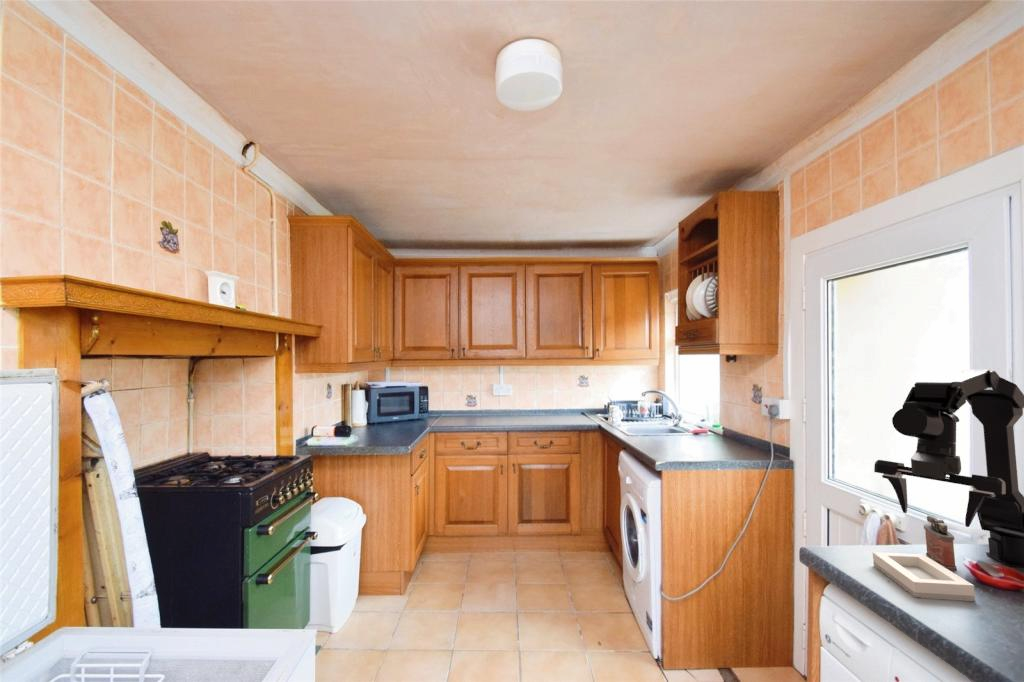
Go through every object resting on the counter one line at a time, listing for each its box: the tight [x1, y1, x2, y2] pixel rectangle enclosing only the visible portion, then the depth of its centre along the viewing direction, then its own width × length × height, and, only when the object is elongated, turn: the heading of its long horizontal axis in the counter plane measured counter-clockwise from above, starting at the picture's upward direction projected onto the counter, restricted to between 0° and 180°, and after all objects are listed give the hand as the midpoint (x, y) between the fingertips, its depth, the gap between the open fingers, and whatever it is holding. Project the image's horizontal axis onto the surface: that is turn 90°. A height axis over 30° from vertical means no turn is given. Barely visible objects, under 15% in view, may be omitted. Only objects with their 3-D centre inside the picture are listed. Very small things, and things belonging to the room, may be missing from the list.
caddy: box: [872, 551, 976, 602], centre depth 94 cm, size 10×14×3 cm
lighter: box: [923, 514, 958, 573], centre depth 102 cm, size 8×3×10 cm, turn 162°
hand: (934, 519), depth 89 cm, fingers open, 9 cm apart
